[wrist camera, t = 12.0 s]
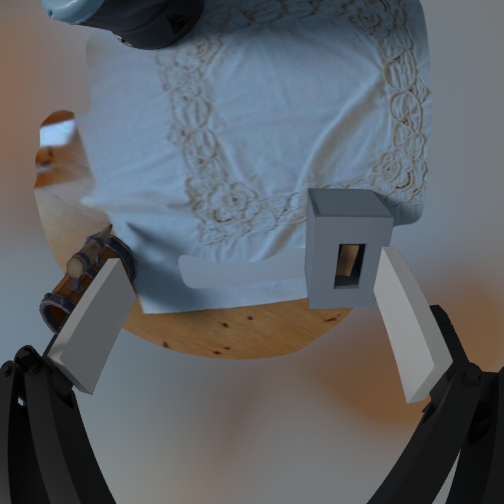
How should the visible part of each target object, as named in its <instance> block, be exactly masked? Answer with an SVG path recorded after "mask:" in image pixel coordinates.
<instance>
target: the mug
mask: <svg viewBox="0 0 504 504" xmlns="http://www.w3.org/2000/svg"><path fill="white" fill-rule="evenodd" d="M112 226H113V225H112V224H110V225H109V226H108V227H107V228H105V229H104V230H103V231H102V232H98V233H96V234H94V235H91V236H89V237H87V239H86V241H85V243H84V245H83V248H82V249H81V250H80V251H79V252H77V253H76V254H74V255H73V257H72V258H71V259H70V260H69V261H68V262H67V271H66V273H65V276H64V278H63V279H62V280H61V281H60V283H59V284H58V285H57V286H56V288H55V289H54V290H53V291H52V293H47V294H45V297H44V299H43V300H42V302H41V304H40V309H39V310H40V313H41V315H42V318H43V320H44V322H45V323H46V324H47V326H48V327H49V328H50V329H51V331H52V332H53V333H56V331H57V329H58V328H59V326H60V324H61V323H62V321H63V319H64V318H65V317H66V316H67V315H68V314H69V313H70V312H73V310H74V309H75V307H76V306H77V304H78V303H79V301H80V300H81V298H82V296H83V295H84V293H85V292H86V290H87V289H88V287H89V286H90V284H91V283H92V282H93V280H94V279H95V277H96V276H97V274H98V273H99V271H100V270H101V269H102V267H103V266H104V264H105V263H106V262H107V260H108V259H115V258H120V260H121V262H122V265H123V267H124V270H125V272H126V274H127V277H128V279H129V281H130V284H131V283H132V282H133V281H134V279H135V278H136V276H137V261H136V260H135V258H134V256H133V254H132V253H131V251H130V249H129V247H128V246H127V245H125V244H124V243H123V242H122V241H120V240H119V239H118V238H117V237H115V236H114V235H110V232H111V229H112Z"/></svg>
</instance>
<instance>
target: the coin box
mask: <svg viewBox="0 0 504 504" xmlns="http://www.w3.org/2000/svg"><path fill="white" fill-rule="evenodd" d="M393 223H394V217H393V215H392V214H391V213H390V212H389V211H388V209H387V208H386V207H385V206H384V204H383V203H382V202H381V201H380V200H379V199H378V197H377V196H376V195H375V194H374V193H373V192H372V190H363V189H319V188H308V191H307V227H306V250H305V277H306V284H307V292H308V301H309V309H328V308H354V307H373V306H374V305H375V301H376V297H375V294H374V291H373V290H374V285H375V281H376V276H377V271H378V266H379V261H380V256H381V251H382V247H389V244H390V239H391V234H392V228H393ZM339 244H358V245H359V249H358V252H357V255H356V258H355V261H354V264H353V267H352V270H351V273H350V276H344V275H335V274H336V266H337V259H338V250H339Z"/></svg>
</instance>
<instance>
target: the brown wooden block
mask: <svg viewBox="0 0 504 504" xmlns="http://www.w3.org/2000/svg"><path fill="white" fill-rule="evenodd" d="M358 249H359V245H358V244H339V250H338V259H337V266H336V274H335V275H344V276H350V273H351V270H352V267H353V264H354V261H355V258H356V255H357V252H358Z"/></svg>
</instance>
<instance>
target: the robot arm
mask: <svg viewBox="0 0 504 504" xmlns="http://www.w3.org/2000/svg"><path fill="white" fill-rule="evenodd" d="M42 4H43V8H44V10H45V12H46V13H47V15H48V16H49V17H51V18H52V19H55V20H59V21H63V22H66V23H67V24H69V25H74V24H75V25H83V26H89V27H95V28H100V29H104V30H109V31H112V33H113V34H114V35H115V36H116V37H117V39H118V40H119V41H121V42H122V43H124V44H125V45H127V46H130V47H133V48H137V49H143V50H153V49H159V48H163V47H166V46H168V45H170V44H173V43H174V42H176V41H178V40H179V39H181V38H182V37H184V36H185V35H186V34H187V33H188V32H189V31H190V30H191V29H192V28H193V27H194V25H195V24H196V23H197V21H198V19H199V17H200V15H201V13H202V10H203V4H204V0H42ZM373 291H374V294H375V297H376V300H377V302H378V305H379V308H380V311H381V314H382V317H383V320H384V323H385V326H386V329H387V332H388V336H389V339H390V342H391V345H392V348H393V352H394V355H395V359H396V362H397V366H398V370H399V373H400V377H401V381H402V385H403V388H404V392H405V397H406V401H407V404H408V403H413V402H417V401H421V400H424V398H426V396H427V395H428V394H429V393H430V397H431V401H430V402H429V403H428V405H427V406H426V407H425V408H424V409H423V411H422V412H423V413H424V412H425V413H424V415H423V417H422V419H421V421H420V423H419V424H418V426H417V428H416V430H415V432H414V434H413V436H412V437H411V439H410V441H409V443H408V444H407V446H406V448H405V449H404V451H403V453H402V454H401V456H400V457H399V459H398V461H397V462H396V464H395V465H394V467H393V468H392V470H391V471H390V473H389V474H388V476H387V477H386V479H385V480H384V482H383V483H382V484H381V486H380V487H379V488H378V490H377V491H376V492H375V494H374V495H373V496H372V498H371V499H370V500H369V501H368V503H367V504H432V503H433V501H434V499H435V498H436V496H437V494H438V493H439V491H440V489H441V487H442V485H443V484H444V482H445V480H446V478H447V476H448V474H449V472H450V470H451V468H452V466H453V464H454V462H455V460H456V458H457V456H458V454H459V451H460V449H461V451H460V455H459V459H458V463H457V468H456V471H455V475H454V478H453V482H452V485H451V489H450V492H449V495H448V498H447V501H446V503H445V504H504V367H502V368H501V370H500V371H499V372H498V373H496V372H483V371H481V369H480V368H479V366H477V365H476V364H474V363H471V362H469V360H468V359H467V356H466V354H465V352H464V349H463V347H462V345H461V343H460V340H459V338H458V336H457V334H456V332H455V330H454V328H453V325H452V324H451V321H450V319H449V317H448V315H447V313H446V312H445V311H444V310H443V309H442V308H441V307H440V306H439V305H432V306H429V305H428V303H427V302H426V300H425V297H424V296H423V293H422V292H421V290H420V288H419V286H418V284H417V282H416V280H415V278H414V276H413V274H412V273H411V271H410V269H409V267H408V265H407V264H406V262H405V260H404V259H403V257H402V255H401V253H400V252H399V250H398V248H397V246H391V247H390V246H389V247H382V251H381V256H380V261H379V266H378V271H377V276H376V281H375V285H374V290H373ZM135 299H136V295H135V292H134V290H133V288H132V286H131V284H130V281H129V279H128V277H127V274H126V272H125V270H124V267H123V265H122V262H121V260H120V258H115V259H108V260H107V262H106V263H105V264H104V266H103V267H102V269H101V270H100V271H99V273H98V274H97V276H96V277H95V279H94V280H93V282H92V283H91V284H90V286H89V287H88V289H87V290H86V292H85V293H84V295H83V296H82V298H81V300H80V301H79V303H78V304H77V306H76V307H75V309H74V310H73V312H70V313H69V314H68V315H67V316H66V317H65V318H64V319H63V321H62V323H61V324H60V326H59V328H58V329H57V331H56V333H55V335H54V336H53V338H52V339H51V341H50V343H49V345H48V346H47V348H46V350H45V352H44V354H43V355H42V357H41V356H40V355H39V354H38V353H37V351H36V350H35V349H34V348H33V347H32V346H31V345H26V346H24V347H22V348H21V349H19V351H18V352H17V353H16V355H15V358H14V362H13V361H7V362H5V363H4V364H3V365H2V367H1V368H0V504H116V502H115V500H114V498H113V497H112V494H111V492H110V490H109V489H108V486H107V484H106V482H105V479H104V477H103V475H102V473H101V470H100V468H99V465H98V463H97V461H96V458H95V456H94V453H93V450H92V448H91V445H90V442H89V439H88V436H87V433H86V430H85V427H84V424H83V421H82V418H81V415H80V411H79V408H78V404H77V400H76V396H75V394H74V391H73V390H72V387H73V385H74V386H75V387H76V388H77V389H78V390H79V391H81V392H84V393H88V394H91V395H92V394H93V391H94V389H95V386H96V384H97V381H98V379H99V377H100V374H101V372H102V370H103V367H104V365H105V363H106V360H107V358H108V356H109V354H110V351H111V349H112V347H113V345H114V342H115V340H116V338H117V336H118V334H119V332H120V330H121V328H122V325H123V323H124V321H125V319H126V317H127V315H128V313H129V311H130V309H131V307H132V305H133V303H134V301H135ZM15 363H16V364H17V365H18V366H17V365H16V364H15ZM18 397H19V398H20V399H21V400H22V401H23V406H21V405H20V404H19V403H18Z"/></svg>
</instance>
